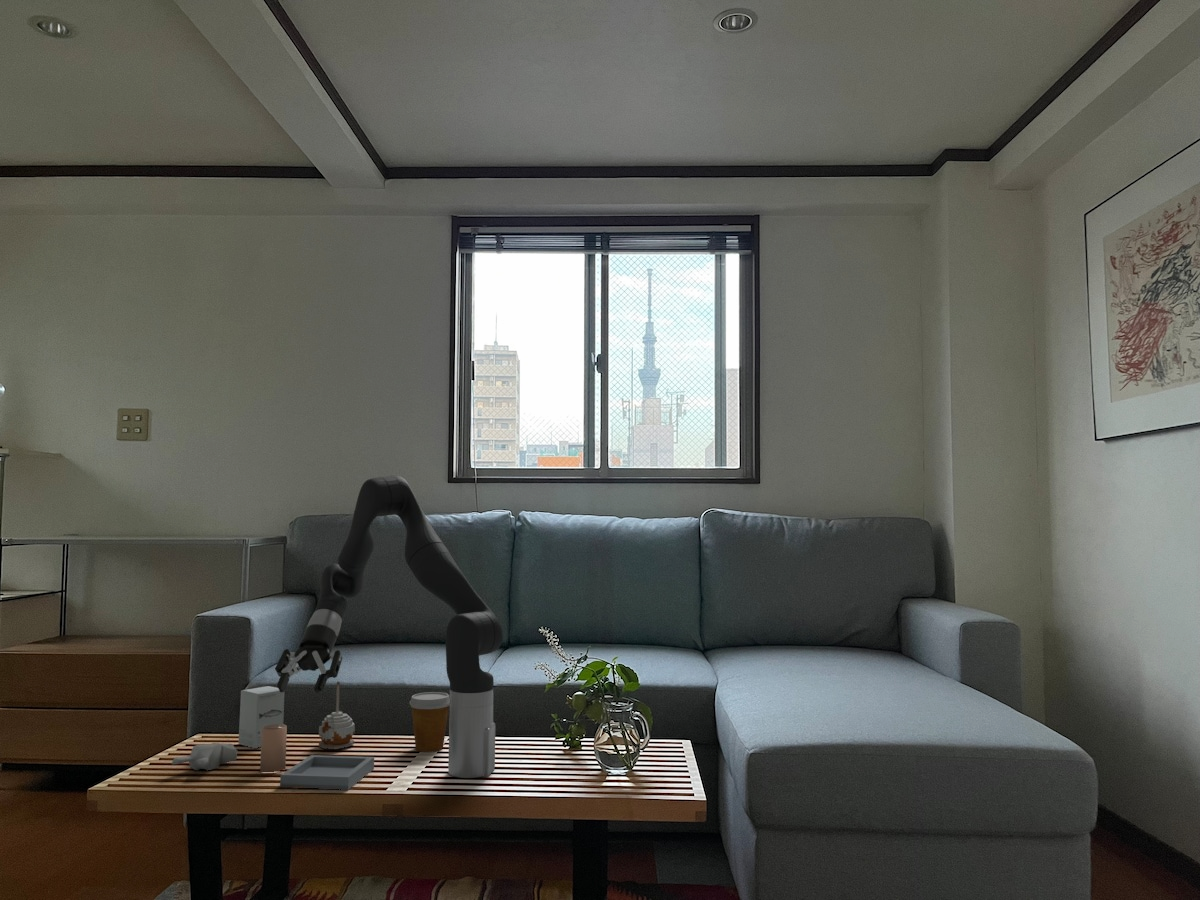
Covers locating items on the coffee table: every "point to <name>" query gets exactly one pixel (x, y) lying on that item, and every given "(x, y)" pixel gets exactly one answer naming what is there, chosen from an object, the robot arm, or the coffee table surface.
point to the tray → (327, 772)
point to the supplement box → (259, 713)
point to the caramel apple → (336, 729)
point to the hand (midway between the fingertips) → (298, 690)
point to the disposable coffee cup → (429, 720)
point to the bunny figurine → (209, 756)
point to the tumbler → (273, 748)
